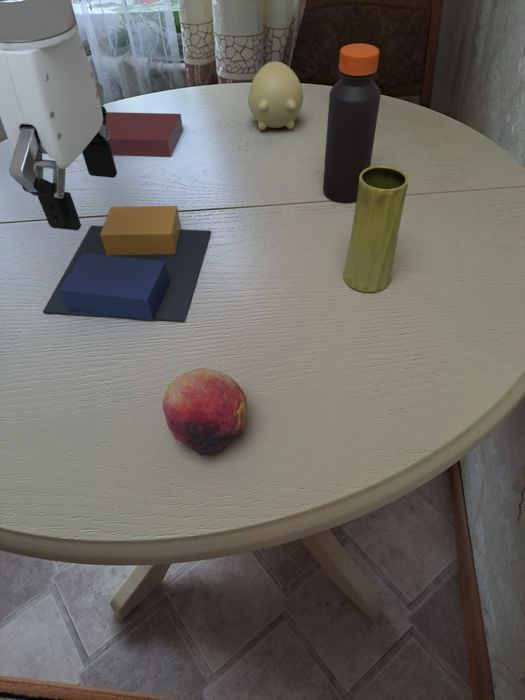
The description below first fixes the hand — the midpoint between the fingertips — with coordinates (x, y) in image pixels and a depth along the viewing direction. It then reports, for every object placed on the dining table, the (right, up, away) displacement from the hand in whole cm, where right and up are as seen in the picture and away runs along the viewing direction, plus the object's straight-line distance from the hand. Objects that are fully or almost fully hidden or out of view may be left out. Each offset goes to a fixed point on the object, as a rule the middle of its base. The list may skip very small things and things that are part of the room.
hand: (86, 200), depth 53 cm
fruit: (+14, -25, -3) cm, 28 cm away
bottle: (+32, +9, +25) cm, 41 cm away
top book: (+2, 0, +18) cm, 18 cm away
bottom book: (-4, +22, +37) cm, 44 cm away
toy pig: (+21, +26, +40) cm, 53 cm away
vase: (+32, -7, +12) cm, 35 cm away
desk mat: (+1, -5, +14) cm, 15 cm away
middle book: (+1, -9, +10) cm, 14 cm away
